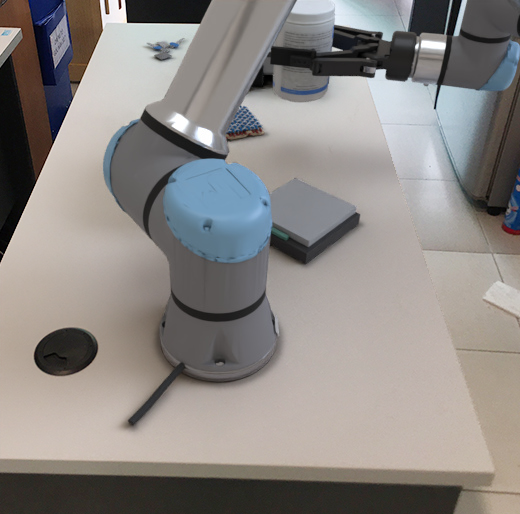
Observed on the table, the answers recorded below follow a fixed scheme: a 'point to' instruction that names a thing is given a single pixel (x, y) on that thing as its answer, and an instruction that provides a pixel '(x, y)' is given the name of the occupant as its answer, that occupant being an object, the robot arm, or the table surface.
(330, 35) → the supplement tub
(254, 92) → the table surface
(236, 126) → the woven mat
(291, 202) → the scale
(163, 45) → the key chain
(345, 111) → the table surface
